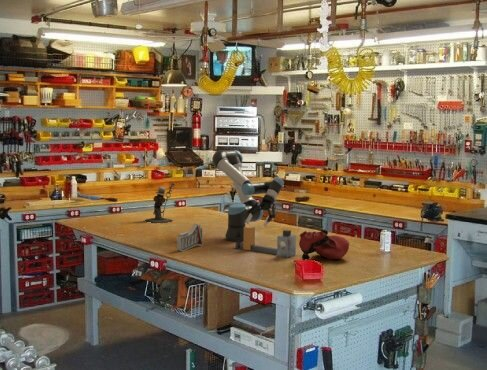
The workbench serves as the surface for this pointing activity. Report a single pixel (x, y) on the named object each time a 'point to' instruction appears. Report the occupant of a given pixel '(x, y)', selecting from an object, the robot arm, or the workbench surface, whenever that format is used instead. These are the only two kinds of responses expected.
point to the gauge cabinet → (286, 246)
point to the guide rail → (257, 248)
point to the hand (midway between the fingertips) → (255, 224)
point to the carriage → (249, 237)
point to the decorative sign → (190, 238)
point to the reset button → (286, 232)
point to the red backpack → (323, 244)
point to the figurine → (159, 202)
